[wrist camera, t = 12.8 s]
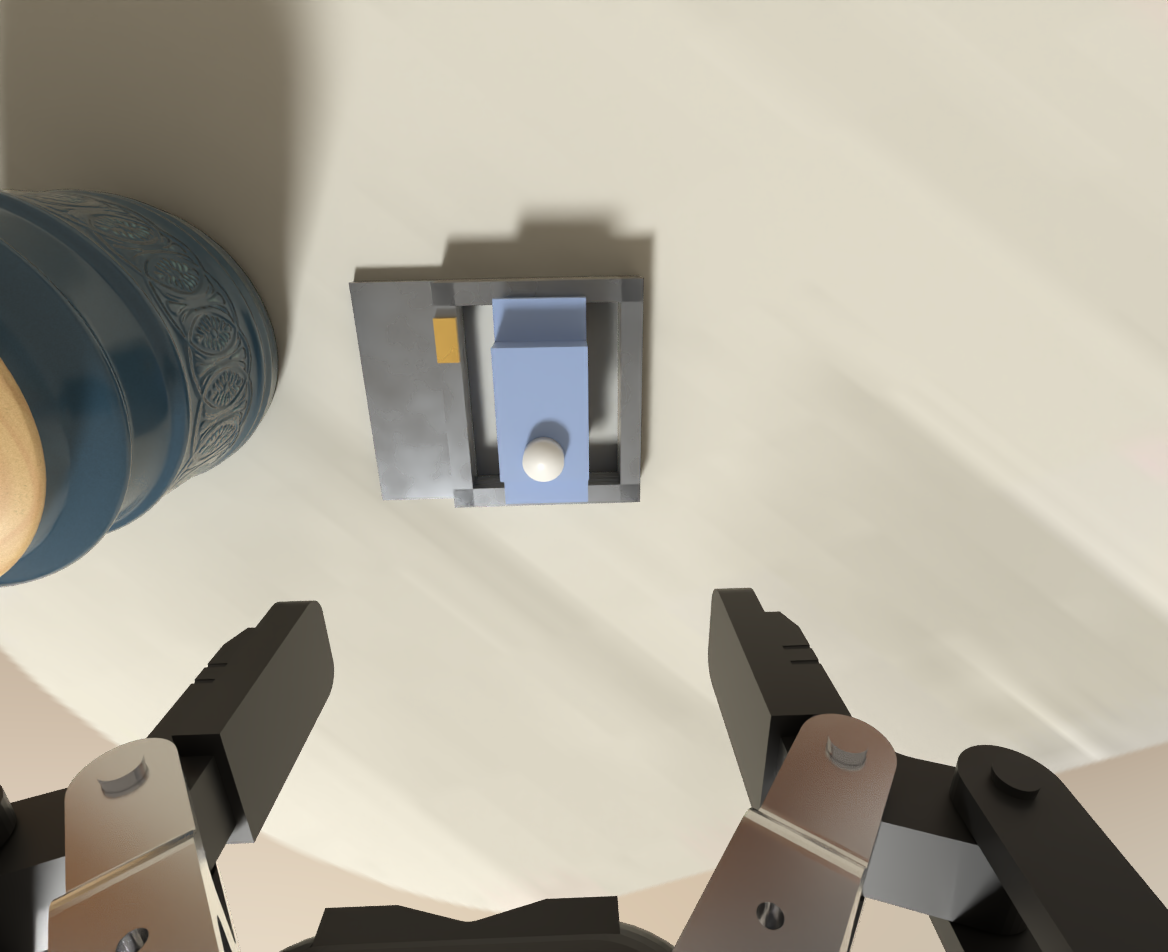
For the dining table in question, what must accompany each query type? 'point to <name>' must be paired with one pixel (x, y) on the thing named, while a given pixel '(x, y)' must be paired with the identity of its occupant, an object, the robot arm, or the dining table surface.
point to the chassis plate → (441, 384)
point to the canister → (114, 368)
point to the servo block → (541, 398)
